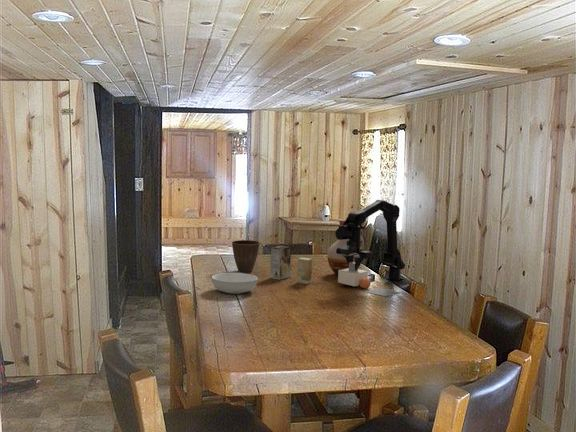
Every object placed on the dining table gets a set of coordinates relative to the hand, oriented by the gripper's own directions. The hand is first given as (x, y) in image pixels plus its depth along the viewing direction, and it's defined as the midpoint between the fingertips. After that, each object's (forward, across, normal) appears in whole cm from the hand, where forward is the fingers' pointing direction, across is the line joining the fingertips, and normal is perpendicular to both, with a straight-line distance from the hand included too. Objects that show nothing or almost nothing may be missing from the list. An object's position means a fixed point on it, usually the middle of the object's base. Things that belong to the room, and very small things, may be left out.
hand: (353, 270), depth 265 cm
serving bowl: (+8, -26, -53) cm, 60 cm away
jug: (+8, -19, +17) cm, 26 cm away
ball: (+5, +8, 0) cm, 9 cm away
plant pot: (+8, -58, -20) cm, 62 cm away
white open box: (+6, 0, 0) cm, 6 cm away
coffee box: (+8, -35, -16) cm, 39 cm away
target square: (+8, +18, 0) cm, 19 cm away
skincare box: (+8, -19, -14) cm, 25 cm away
